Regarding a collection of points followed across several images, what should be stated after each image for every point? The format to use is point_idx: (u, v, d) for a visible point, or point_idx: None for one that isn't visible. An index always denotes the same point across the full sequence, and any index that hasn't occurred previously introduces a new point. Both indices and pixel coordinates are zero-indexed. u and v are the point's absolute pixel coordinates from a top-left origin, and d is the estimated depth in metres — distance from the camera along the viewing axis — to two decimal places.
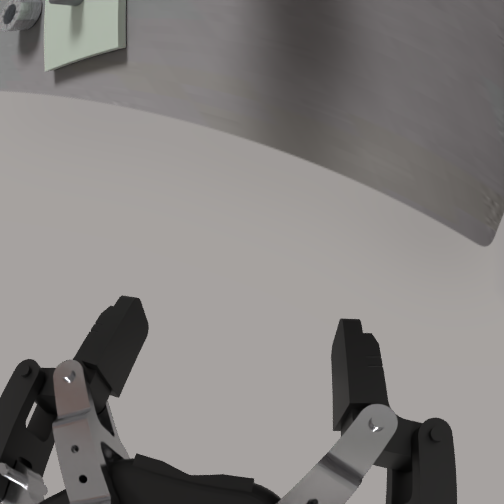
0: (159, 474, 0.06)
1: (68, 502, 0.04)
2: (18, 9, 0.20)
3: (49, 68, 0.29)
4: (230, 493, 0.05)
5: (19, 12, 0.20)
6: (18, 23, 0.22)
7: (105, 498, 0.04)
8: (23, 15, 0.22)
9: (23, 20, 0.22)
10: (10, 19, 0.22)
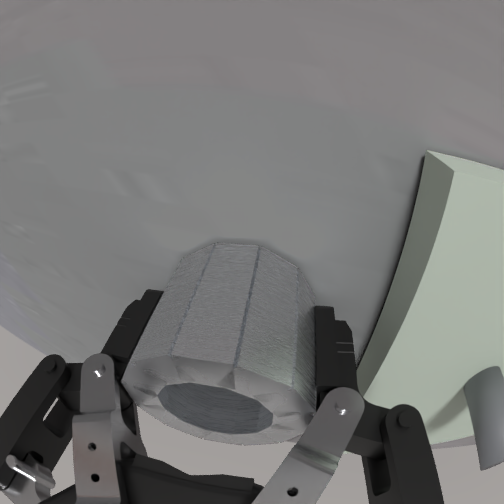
0: (159, 474, 0.06)
1: (75, 495, 0.04)
2: (294, 424, 0.08)
3: None
4: (230, 493, 0.05)
5: (299, 434, 0.08)
6: None
7: (115, 501, 0.04)
8: None
9: None
10: None
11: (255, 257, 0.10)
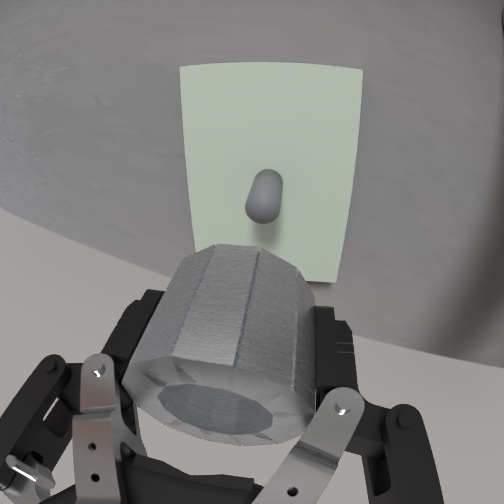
0: (159, 474, 0.06)
1: (75, 495, 0.04)
2: (293, 425, 0.08)
3: None
4: (230, 493, 0.05)
5: (299, 434, 0.08)
6: None
7: (114, 501, 0.04)
8: None
9: None
10: None
11: (255, 258, 0.10)
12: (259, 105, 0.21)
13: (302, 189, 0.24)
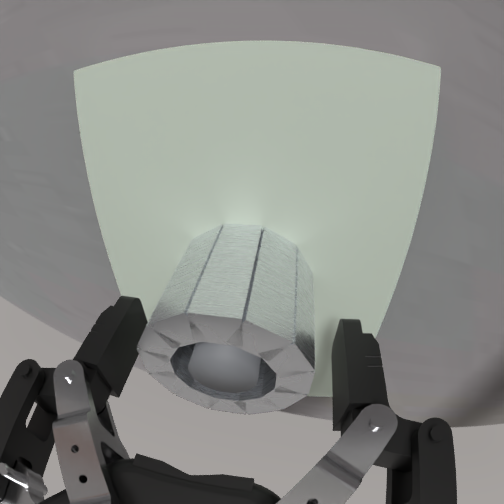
0: (159, 474, 0.06)
1: (68, 502, 0.04)
2: (295, 387, 0.09)
3: None
4: (230, 493, 0.05)
5: (301, 398, 0.10)
6: None
7: (104, 498, 0.04)
8: None
9: None
10: None
11: (259, 235, 0.11)
12: (220, 137, 0.10)
13: None
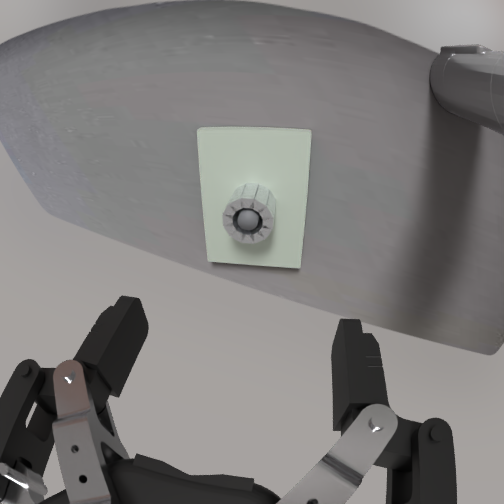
0: (159, 474, 0.06)
1: (68, 502, 0.04)
2: (268, 225, 0.35)
3: (214, 261, 0.45)
4: (230, 493, 0.05)
5: (270, 231, 0.35)
6: None
7: (105, 498, 0.04)
8: None
9: None
10: (235, 216, 0.37)
11: (257, 185, 0.37)
12: (246, 156, 0.36)
13: None
